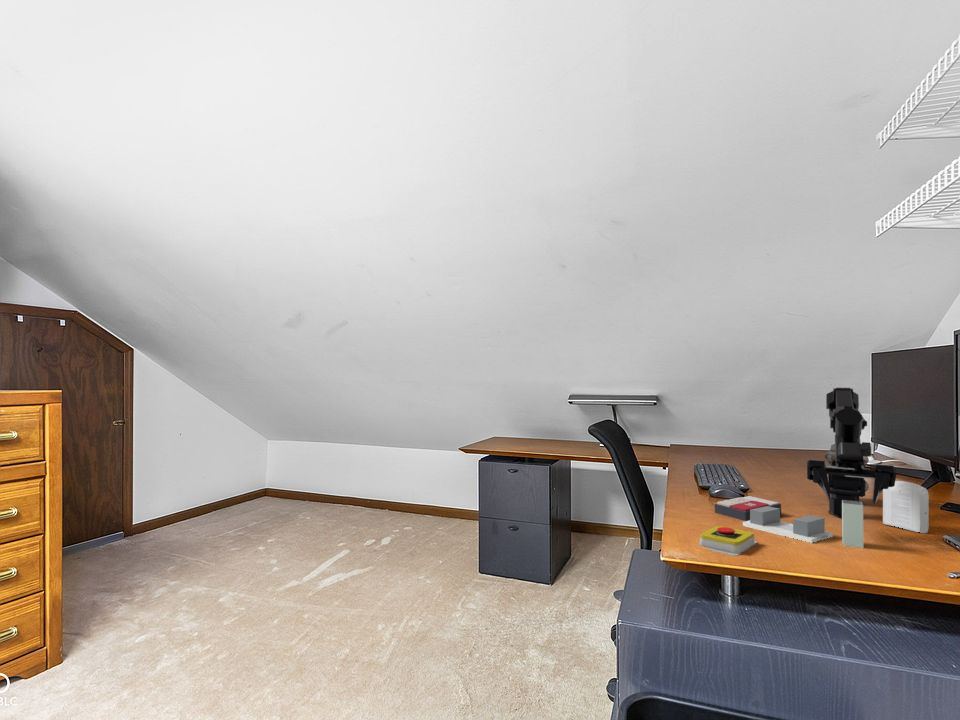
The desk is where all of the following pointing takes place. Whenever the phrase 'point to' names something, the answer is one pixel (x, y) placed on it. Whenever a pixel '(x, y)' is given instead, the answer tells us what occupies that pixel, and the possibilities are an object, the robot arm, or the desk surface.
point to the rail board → (788, 525)
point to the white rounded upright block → (906, 506)
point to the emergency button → (727, 540)
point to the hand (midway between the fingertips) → (851, 500)
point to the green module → (852, 523)
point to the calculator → (742, 506)
